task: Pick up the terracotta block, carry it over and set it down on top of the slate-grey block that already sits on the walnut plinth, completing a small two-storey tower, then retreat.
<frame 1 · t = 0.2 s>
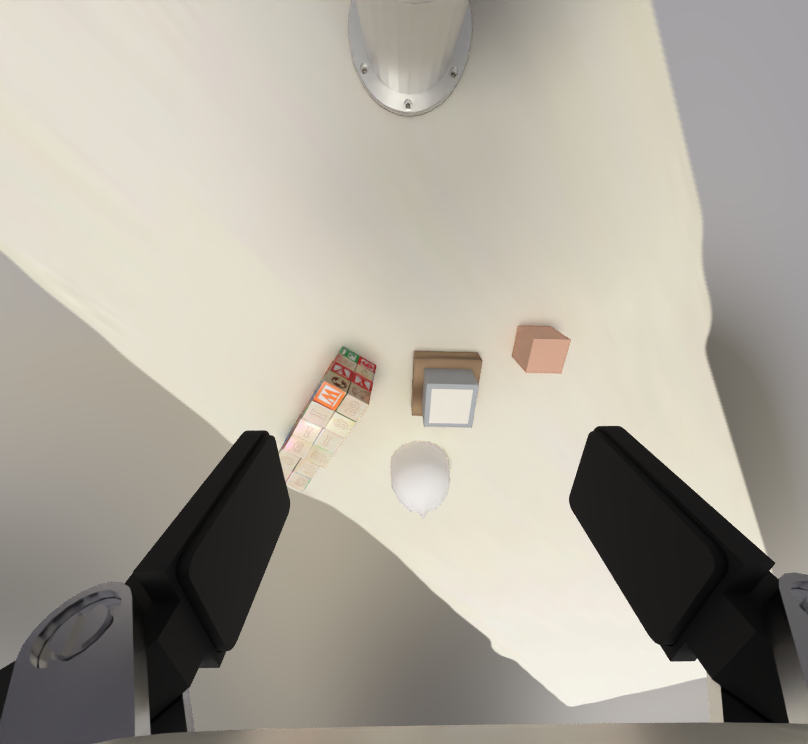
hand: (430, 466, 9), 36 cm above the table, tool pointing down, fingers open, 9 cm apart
plinth: (443, 380, 49), on the table
stack of blocks: (329, 402, 51), on the table
terracotta block: (530, 341, 46), on the table
teardrop: (419, 462, 57), on the table
grey block: (445, 389, 46), point 3 cm above the table, touching plinth
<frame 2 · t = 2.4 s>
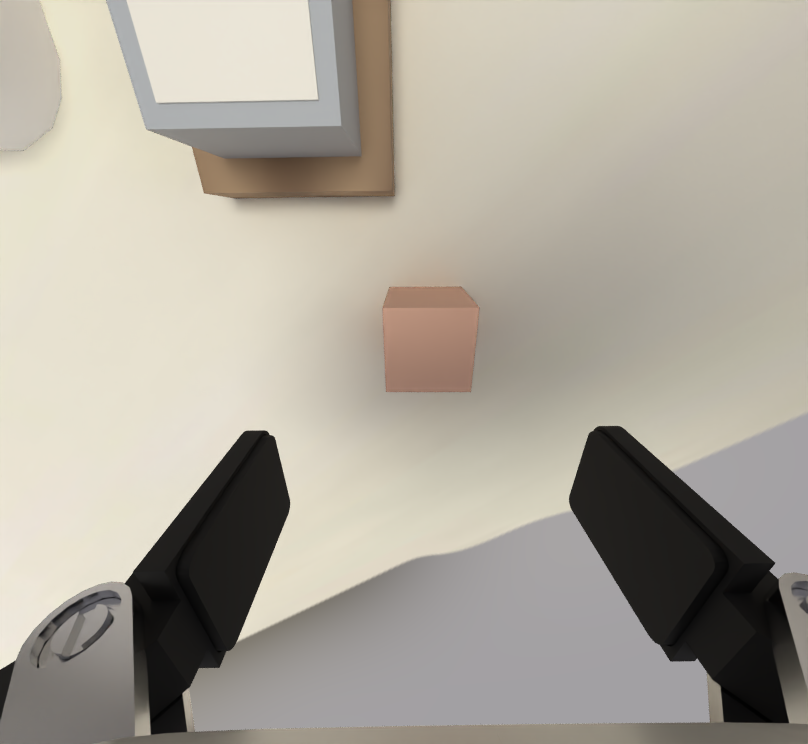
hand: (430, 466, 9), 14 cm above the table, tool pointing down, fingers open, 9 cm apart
plinth: (300, 91, 16), on the table
terracotta block: (424, 321, 22), on the table
grey block: (279, 63, 14), point 3 cm above the table, touching plinth
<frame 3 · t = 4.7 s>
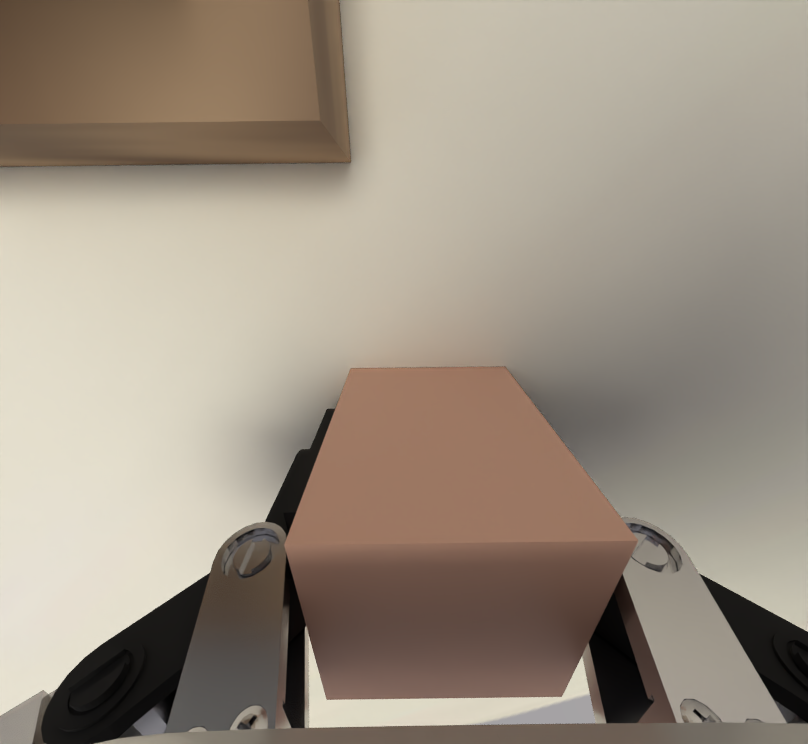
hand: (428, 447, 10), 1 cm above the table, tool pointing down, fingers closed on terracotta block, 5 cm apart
terracotta block: (426, 430, 11), on the table, touching gripper
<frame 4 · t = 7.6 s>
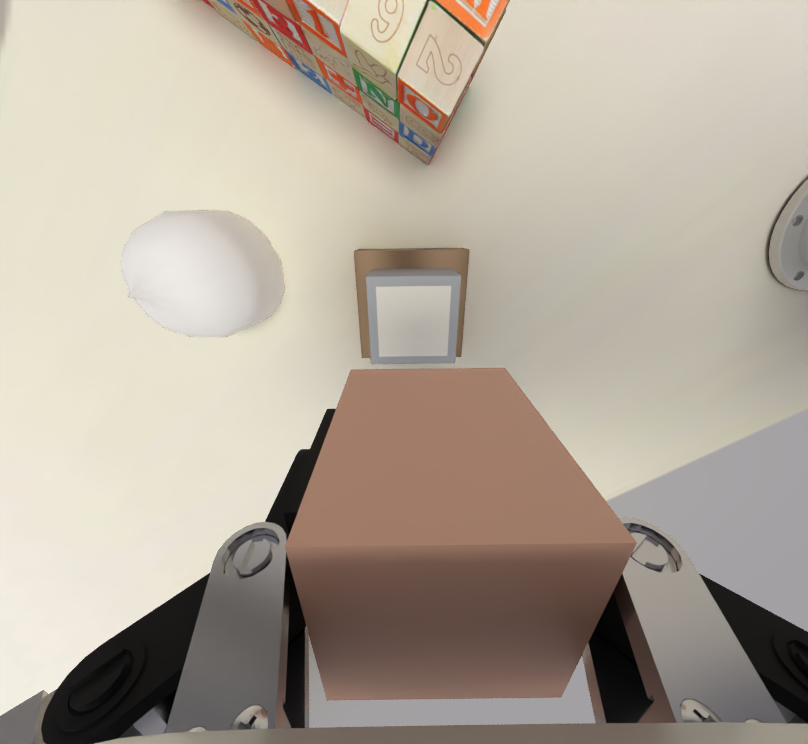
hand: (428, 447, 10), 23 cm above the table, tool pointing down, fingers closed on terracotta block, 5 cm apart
plinth: (410, 301, 31), on the table
stack of blocks: (332, 39, 23), on the table
terracotta block: (426, 431, 11), point 22 cm above the table, touching gripper
teardrop: (229, 272, 30), on the table
grey block: (411, 307, 28), point 3 cm above the table, touching plinth
when the fingers open (10 cm above the table, at t = 10.7 s): terracotta block stays where it is, resting on grey block.
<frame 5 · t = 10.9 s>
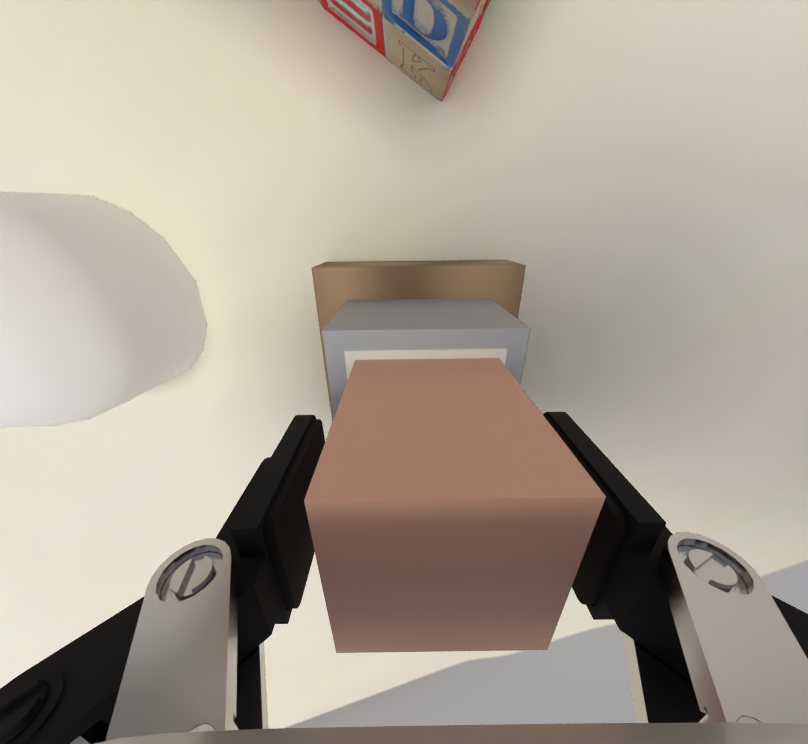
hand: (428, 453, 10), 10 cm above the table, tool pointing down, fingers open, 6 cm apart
plinth: (415, 345, 19), on the table
terracotta block: (425, 419, 11), point 8 cm above the table, touching grey block
teardrop: (113, 299, 18), on the table
grey block: (417, 364, 16), point 3 cm above the table, touching plinth, terracotta block
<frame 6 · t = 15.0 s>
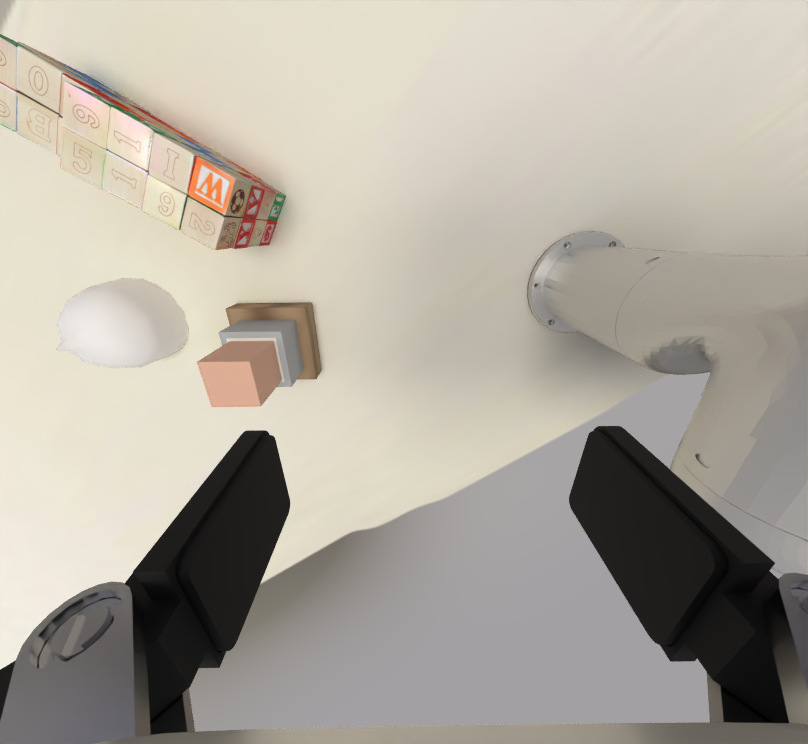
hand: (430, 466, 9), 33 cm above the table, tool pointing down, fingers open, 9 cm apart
plinth: (281, 338, 42), on the table
stack of blocks: (189, 169, 34), on the table
terracotta block: (256, 361, 35), point 8 cm above the table, touching grey block
teardrop: (148, 318, 41), on the table
grey block: (273, 345, 39), point 3 cm above the table, touching plinth, terracotta block
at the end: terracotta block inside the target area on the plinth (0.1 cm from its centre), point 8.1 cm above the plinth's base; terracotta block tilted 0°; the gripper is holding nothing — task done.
